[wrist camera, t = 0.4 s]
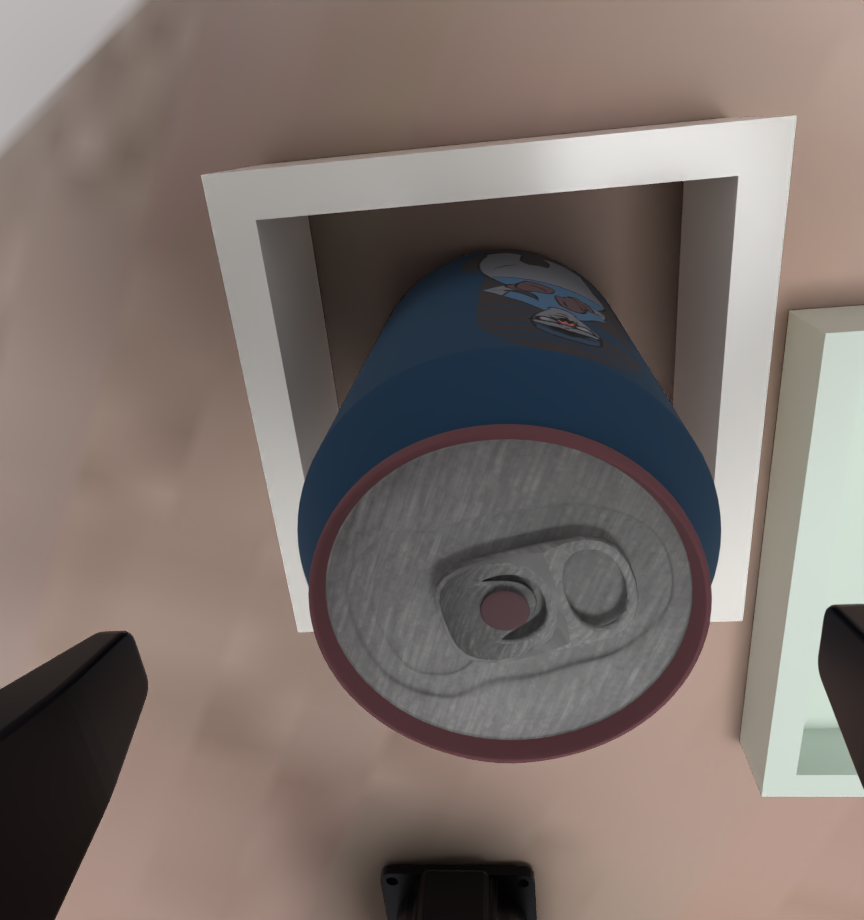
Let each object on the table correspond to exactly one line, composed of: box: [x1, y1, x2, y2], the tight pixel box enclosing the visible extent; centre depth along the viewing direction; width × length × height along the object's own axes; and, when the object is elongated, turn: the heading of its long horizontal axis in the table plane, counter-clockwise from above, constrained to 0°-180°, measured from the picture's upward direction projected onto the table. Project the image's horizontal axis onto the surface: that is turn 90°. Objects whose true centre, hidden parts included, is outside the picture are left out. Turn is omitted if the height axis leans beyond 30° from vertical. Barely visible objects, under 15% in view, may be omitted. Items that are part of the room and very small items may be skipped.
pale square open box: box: [201, 115, 797, 632], centre depth 19 cm, size 12×12×4 cm
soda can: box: [297, 250, 721, 763], centre depth 16 cm, size 7×7×12 cm
